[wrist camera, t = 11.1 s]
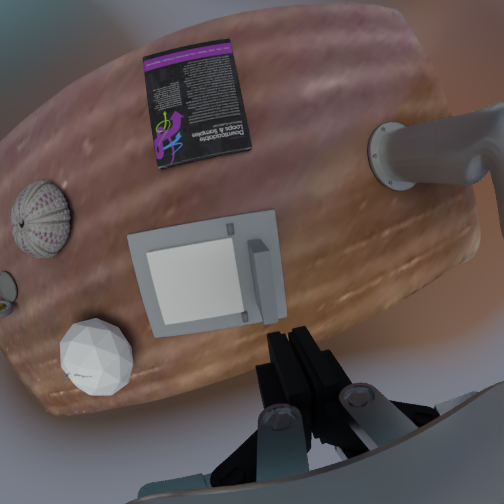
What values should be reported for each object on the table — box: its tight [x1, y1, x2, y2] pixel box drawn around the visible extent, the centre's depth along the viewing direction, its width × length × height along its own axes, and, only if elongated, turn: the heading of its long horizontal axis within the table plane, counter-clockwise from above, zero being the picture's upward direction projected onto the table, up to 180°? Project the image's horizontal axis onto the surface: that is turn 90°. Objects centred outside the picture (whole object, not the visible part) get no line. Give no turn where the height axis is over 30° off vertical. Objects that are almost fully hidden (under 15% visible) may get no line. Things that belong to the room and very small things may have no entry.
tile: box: [146, 237, 244, 325], centre depth 41 cm, size 13×12×1 cm
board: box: [127, 209, 287, 338], centre depth 39 cm, size 23×18×9 cm
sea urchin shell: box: [11, 179, 71, 259], centre depth 34 cm, size 13×14×8 cm
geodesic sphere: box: [60, 318, 133, 395], centre depth 37 cm, size 14×14×14 cm
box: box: [143, 38, 252, 169], centre depth 36 cm, size 14×4×20 cm
